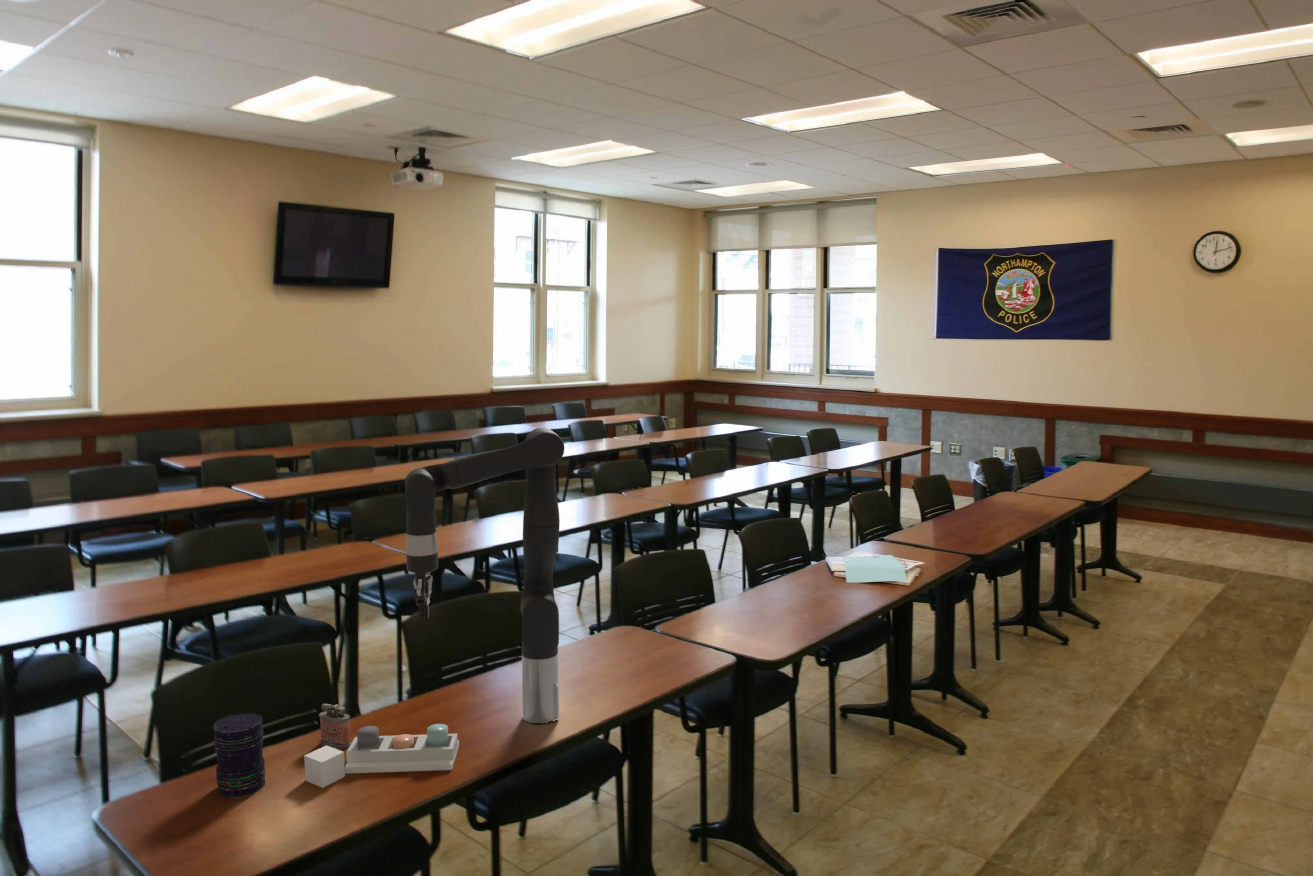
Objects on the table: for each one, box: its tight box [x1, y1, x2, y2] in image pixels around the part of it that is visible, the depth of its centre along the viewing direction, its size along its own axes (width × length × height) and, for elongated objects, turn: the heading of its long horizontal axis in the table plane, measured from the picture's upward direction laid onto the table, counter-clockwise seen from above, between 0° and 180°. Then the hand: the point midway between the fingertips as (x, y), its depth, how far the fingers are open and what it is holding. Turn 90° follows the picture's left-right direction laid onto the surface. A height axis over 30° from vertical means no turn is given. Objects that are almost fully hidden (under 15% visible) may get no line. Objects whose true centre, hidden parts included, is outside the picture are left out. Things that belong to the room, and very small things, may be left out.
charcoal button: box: [356, 725, 380, 747], centre depth 216 cm, size 5×5×3 cm
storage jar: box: [213, 712, 266, 799], centre depth 203 cm, size 10×10×15 cm
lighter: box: [318, 703, 352, 750], centre depth 224 cm, size 8×3×10 cm, turn 71°
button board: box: [344, 733, 460, 775], centre depth 217 cm, size 24×12×4 cm, turn 94°
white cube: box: [304, 745, 346, 789], centre depth 208 cm, size 6×6×6 cm
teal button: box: [426, 723, 449, 745], centre depth 217 cm, size 5×5×3 cm
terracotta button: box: [392, 733, 414, 749], centre depth 216 cm, size 5×5×3 cm
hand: (424, 619), depth 228 cm, fingers closed
